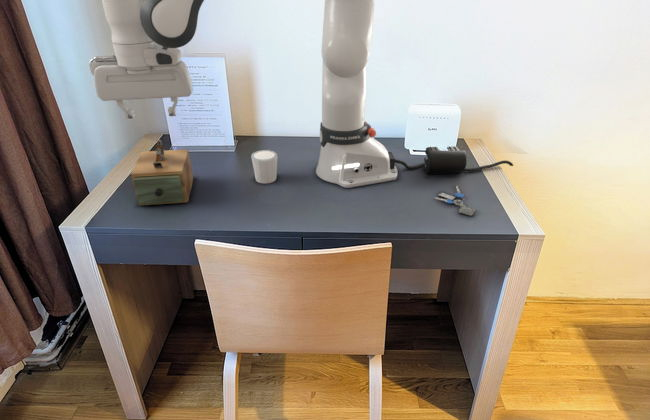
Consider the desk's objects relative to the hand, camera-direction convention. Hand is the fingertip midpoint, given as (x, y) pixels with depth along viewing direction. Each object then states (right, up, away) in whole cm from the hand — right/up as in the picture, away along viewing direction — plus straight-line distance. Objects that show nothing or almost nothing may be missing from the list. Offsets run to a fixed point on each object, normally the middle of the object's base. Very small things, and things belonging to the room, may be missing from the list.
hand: (152, 116), depth 100 cm
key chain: (+71, -20, +7) cm, 74 cm away
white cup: (+24, -13, +17) cm, 32 cm away
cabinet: (0, -17, +11) cm, 20 cm away
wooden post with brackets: (0, -10, +6) cm, 12 cm away
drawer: (0, -17, +8) cm, 19 cm away
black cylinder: (+73, -11, +21) cm, 77 cm away
